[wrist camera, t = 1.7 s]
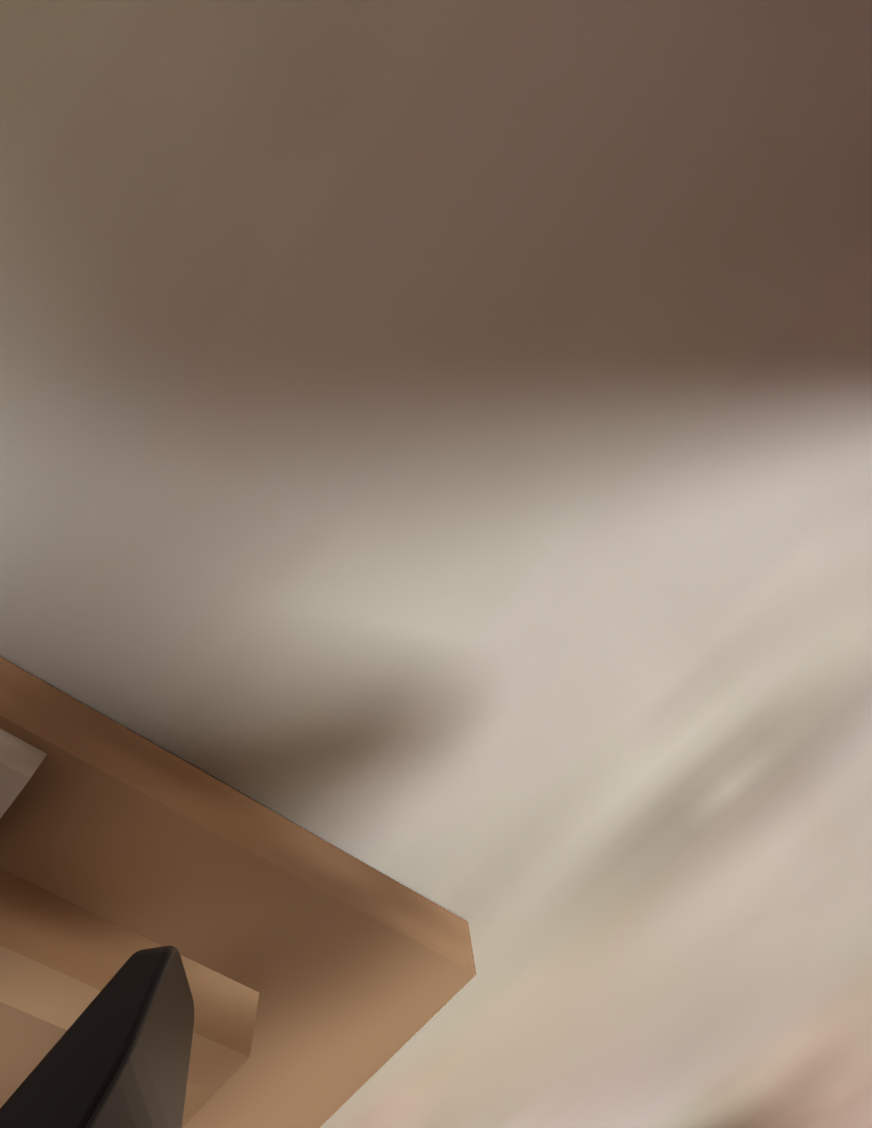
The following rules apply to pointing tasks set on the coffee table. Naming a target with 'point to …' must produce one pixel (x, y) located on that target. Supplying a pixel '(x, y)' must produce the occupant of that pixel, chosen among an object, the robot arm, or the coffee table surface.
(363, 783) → the coffee table surface
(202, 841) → the board
